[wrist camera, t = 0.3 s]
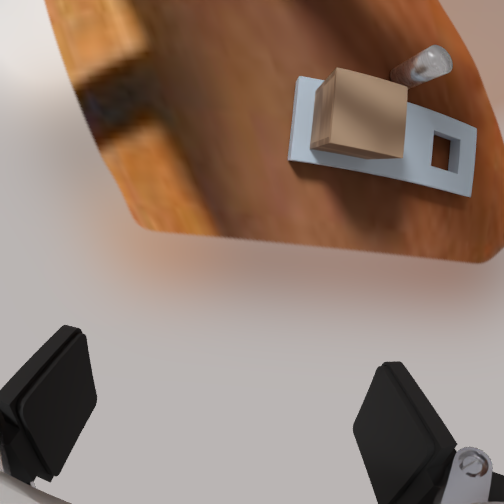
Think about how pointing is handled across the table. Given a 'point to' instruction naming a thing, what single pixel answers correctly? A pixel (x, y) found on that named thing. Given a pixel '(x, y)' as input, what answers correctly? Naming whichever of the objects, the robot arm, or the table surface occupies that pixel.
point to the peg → (422, 67)
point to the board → (415, 146)
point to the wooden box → (359, 116)
